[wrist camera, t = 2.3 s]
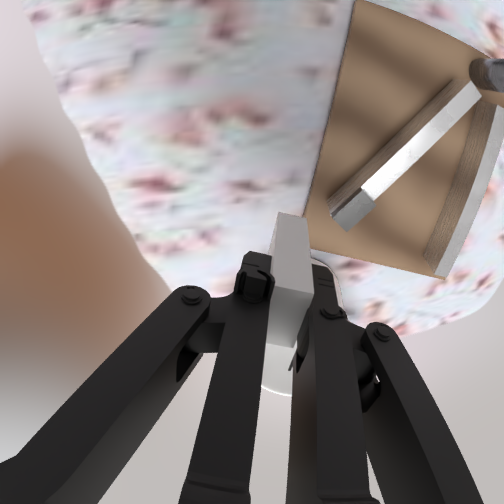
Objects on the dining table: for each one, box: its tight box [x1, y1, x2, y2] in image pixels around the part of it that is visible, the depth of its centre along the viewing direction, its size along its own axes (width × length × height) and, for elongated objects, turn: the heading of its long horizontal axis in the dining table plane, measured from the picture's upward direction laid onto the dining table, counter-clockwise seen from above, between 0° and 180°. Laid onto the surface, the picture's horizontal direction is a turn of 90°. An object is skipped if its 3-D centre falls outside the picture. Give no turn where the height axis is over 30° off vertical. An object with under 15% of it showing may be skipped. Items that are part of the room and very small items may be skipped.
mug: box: [261, 258, 352, 396], centre depth 28 cm, size 12×8×10 cm
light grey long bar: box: [327, 79, 482, 232], centre depth 21 cm, size 16×2×4 cm, turn 139°
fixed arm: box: [423, 59, 504, 277], centre depth 20 cm, size 19×3×5 cm, turn 169°
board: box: [303, 0, 504, 280], centre depth 24 cm, size 22×16×1 cm
